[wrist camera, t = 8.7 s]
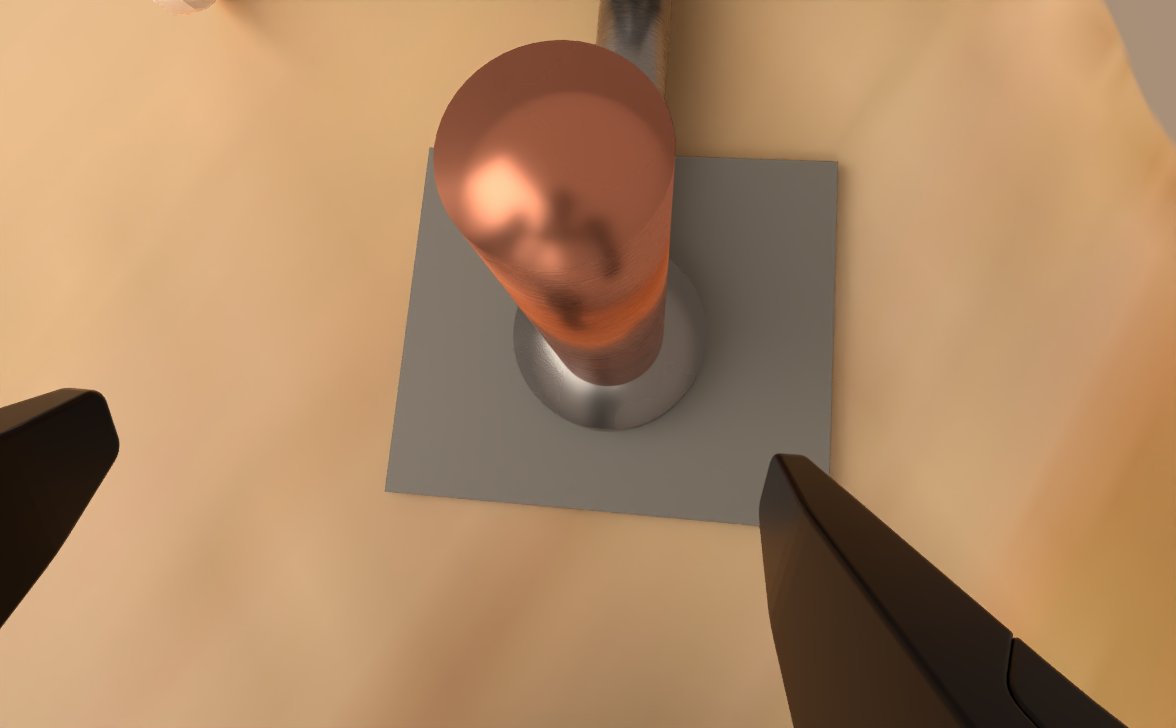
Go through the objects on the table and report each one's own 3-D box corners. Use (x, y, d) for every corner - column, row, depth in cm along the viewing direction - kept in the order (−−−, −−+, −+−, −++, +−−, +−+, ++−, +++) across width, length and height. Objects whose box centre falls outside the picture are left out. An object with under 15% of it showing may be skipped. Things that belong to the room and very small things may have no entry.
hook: (698, 438, 21) (763, 378, 9) (511, 423, 22) (316, 347, 9) (726, -41, 24) (807, -625, 11) (559, -41, 25) (458, -595, 12)
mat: (824, 531, 21) (827, 532, 21) (389, 491, 22) (384, 491, 22) (834, 167, 23) (838, 161, 22) (433, 153, 24) (429, 147, 24)
